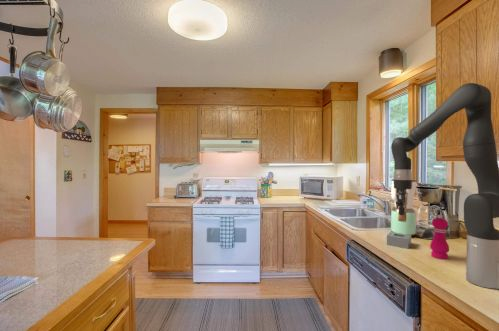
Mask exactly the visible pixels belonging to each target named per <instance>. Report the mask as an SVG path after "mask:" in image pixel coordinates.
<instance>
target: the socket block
mask: <svg viewBox="0 0 499 331" xmlns="http://www.w3.org/2000/svg"><path fill="white" fill-rule="evenodd" d="M386 245H387V246H390V247H391V246H392V247H397V248H402V249H407V250H409V249H410V248H411V247H410V246H411V245H412V236H411V235H407V234H401V233H395V232H391V231H390V232H389V233H388V234H387V235H386Z"/></svg>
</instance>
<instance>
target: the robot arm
mask: <svg viewBox="0 0 499 331" xmlns="http://www.w3.org/2000/svg"><path fill="white" fill-rule="evenodd" d="M463 109H464V111H465V113H466V114H465V115H466V120H467V121H466V123H467V124H466V129H465V133H464V135H463V139H462V150H463V151H462V152H463V158H464V161H465V163H466V166H467V167H468V169H469V170H470V172H471V173H472V175H473V177H474V178H475V180H476V185H477V193H471V194H469V195H468V196H467V197H466V198H465V199H464V202H463V223H464V227H465V229H466V258H465V260H466V262H465V264H466V265H465V266H466V268H465V269H466V270H465V272H466V273H465V279H466V280H467V282H469V283H471V284H473V285H476V286H479V287H482V288H488V289H495V290H496V289H497V290H499V229H497V228H495V225H494V219H497V218H499V161H498V152H497V144H496V139H495V132H494V126H493V122H492V121H493V119H492V93H491V91H490V89H489V88H488V87H487V86H485V85H482V84H479V83H475V82H467V83H465V84H462V85H461V86H459V87H458V88H456V89H455V91H453V93H451V94H450V96H448V97H447V99H445V101H443V102H442V103H441V105H439V107H437V108H436V109H434V111H433V112H431V114H429V115H428V116H427V117H426V118H424V119H423V120H422V121H421V122H419V123H418V124H416V125H415V126H414V127H413V128H411V129H410V130H409V135H408V136H406V137H403V136H402V137H401V136H400V137H396V138H394V139H393V140H392V142H391V145H390V146H391V147H390V148H391V154H392V158H393V160H394V165H393V166H394V171H393V180H394V188H395V189H399V192H398V193H397V203H398V207H399V215H404V210H405V203H406V201H407V197H408V193H406V189H412V180H413V173H412V159H411V157H408V154H407V153H409V152H411V151H414V150H415V149H416V148H417V147H418V146H419V145H420V144H421V143H422V142H423V141H424V140H426V139H427V138H429V137H431V135H433V134H435V133H436V132H438V131H439V129H440V128H441V127H442V126H443V124H444V123H445V122H446V121H447V120H448V119H449V118H451V117H452V116H453V115H454V114H457V113H458V112H460V111H462V110H463ZM400 202H402V204H400Z"/></svg>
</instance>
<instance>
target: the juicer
mask: <svg viewBox="0 0 499 331" xmlns="http://www.w3.org/2000/svg"><path fill="white" fill-rule="evenodd" d="M416 189H417V179H416V180H415V179H412V189H406V193H408V197H407V212H406V222H401V221H398V203H397V193H398V192H399V189H395V188H394V179H391V191H390V192H391V194H390V195H391V196H390V197H391V199H392V201H393V203H394V207H392V209H391V211H390V212H391V213H390V215H391V216H390V232H395V233H401V234H407V235H411V237H415V236H414V235H416V234H417V233H416V223H417V221H416V220H417V216H416V211H415V209H414V208H413V204H414V198H415V194H416Z"/></svg>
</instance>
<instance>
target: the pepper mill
mask: <svg viewBox="0 0 499 331" xmlns="http://www.w3.org/2000/svg"><path fill="white" fill-rule="evenodd" d="M431 225H432V226H433V229H432V230H433V232H434V233H433V234H434V235H433V238H432V240H431V242H430V244H429V247H430V249H431V253H430V256H431V257H433V258H436V259H438V258H439V259H440V260H447V259H449V255H448V253H449V252H450V247H449V244H448V242H447V240H446V233H447V228H448V227H449V223H448V221H447V220H446V219H445V218H443V215H441V214H438V215H437V217H436V218H433V219H432V222H431Z"/></svg>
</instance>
